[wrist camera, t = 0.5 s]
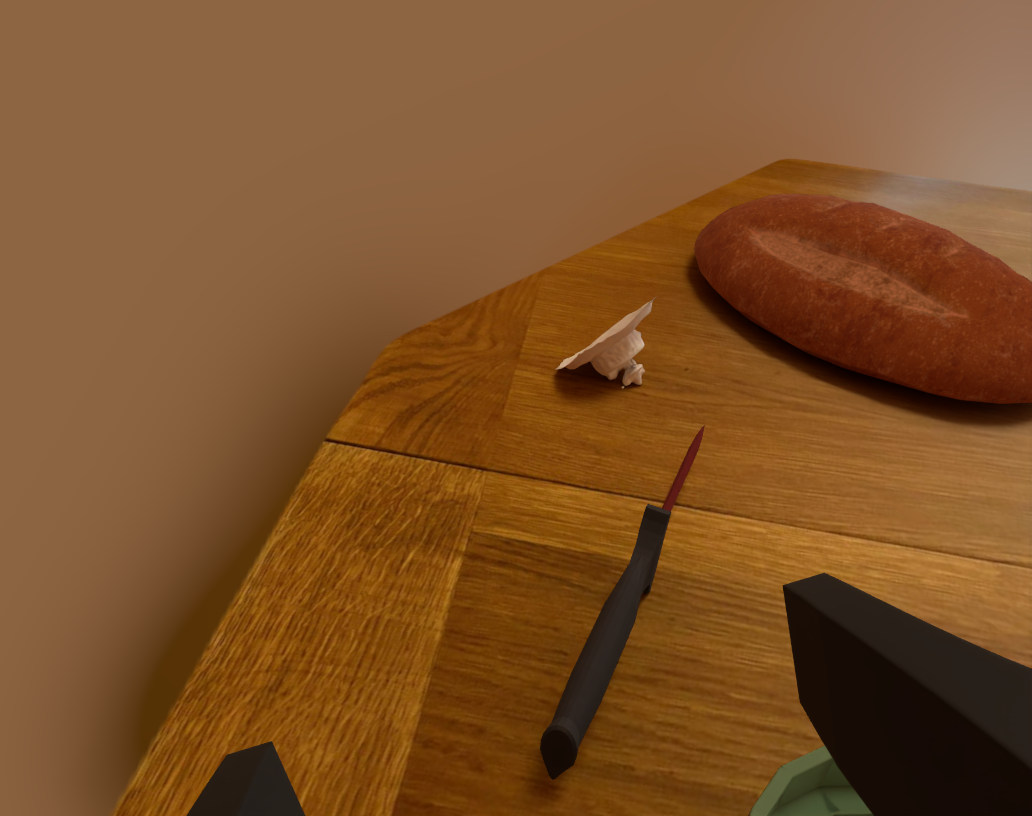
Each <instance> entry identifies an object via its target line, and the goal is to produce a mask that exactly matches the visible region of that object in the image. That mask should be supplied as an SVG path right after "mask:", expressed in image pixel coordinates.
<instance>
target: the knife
mask: <svg viewBox="0 0 1032 816" xmlns="http://www.w3.org/2000/svg"><path fill="white" fill-rule="evenodd" d="M703 431H704V426H703V427H702V429H701V430H700V431H699V433H698V434H697V435H696V437H695V439H694V440H693V442H692V444H691V446H690V447H689V449H688V452H687V454H686V456H685V458H684V460H683V463H682V465H681V467H680V469H679V471H678V474H677V476H676V478H675V480H674V482H673V485H672V487H671V489H670V491H669V494H668V496H667V498H666V500H665V502H664V505H663V507H662V508H659V507H656V506H653V505H650V504H648V505H647V506H646V509H645V512H644V515H643V519H642V522H641V526H640V529H639V533H638V538H637V542H636V546H635V548H634V551H633V554H632V557H631V560H630V563H629V565H628V567H627V568H626V570H625V572H624V573H623V575H622V576H621V578H620V580H619V581H618V583H617V585H616V586H615V588H614V589H613V591H612V593H611V594H610V596H609V598H608V599H607V600H606V602H605V604H604V606H603V608H602V610H601V612H600V614H599V616H598V619H597V621H596V623H595V625H594V627H593V629H592V631H591V633H590V635H589V637H588V639H587V642H586V644H585V646H584V648H583V650H582V652H581V654H580V656H579V658H578V660H577V663H576V665H575V667H574V669H573V671H572V673H571V675H570V678H569V680H568V683H567V685H566V688H565V690H564V693H563V695H562V698H561V700H560V703H559V705H558V708H557V710H556V713H555V715H554V718H553V720H552V723H551V724H550V726H549V727H548V728H547V729H546V731H545V732H544V733H543V736H542V739H541V745H540V750H541V754H542V757H543V760H544V763H545V766H546V768H547V771H548V774H549V776H550V778H551V779H552V780H554V779H556V778H557V777H558V776H559V775H560V774H561V773H563V772H564V771H566V770H567V769H568V768H570V767H571V766H573V765H574V763H575V760H576V757H577V752H578V747H579V745H580V743H581V741H582V739H583V737H584V735H585V733H586V731H587V729H588V727H589V725H590V723H591V721H592V719H593V717H594V715H595V713H596V711H597V709H598V707H599V705H600V703H601V700H602V698H603V696H604V693H605V691H606V689H607V686H608V684H609V682H610V679H611V677H612V675H613V672H614V670H615V668H616V665H617V663H618V660H619V658H620V656H621V653H622V651H623V649H624V646H625V644H626V642H627V639H628V637H629V635H630V632H631V630H632V628H633V625H634V622H635V619H636V615H637V610H638V606H639V602H640V598H641V595H642V593H643V592H644V593H647V594H649V592H650V589H651V585H652V582H653V578H654V575H655V571H656V568H657V564H658V560H659V556H660V552H661V548H662V544H663V540H664V537H665V533H666V529H667V526H668V522H669V518H670V515H671V510H672V508H673V505H674V503H675V501H676V499H677V496H678V494H679V492H680V490H681V488H682V485H683V483H684V481H685V479H686V476H687V474H688V472H689V470H690V468H691V465H692V463H693V461H694V459H695V456H696V454H697V452H698V449H699V446H700V443H701V440H702V436H703Z"/></svg>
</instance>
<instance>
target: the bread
mask: <svg viewBox="0 0 1032 816" xmlns="http://www.w3.org/2000/svg"><path fill="white" fill-rule="evenodd" d="M694 251H695V255H696V259H697V263H698V267H699V271H700V272H701V273H702V275H703V276H704V277H705V278H706V280H707V281H708V282H709V283H710V285H711V286H712V287H713V288H714V289H715V290H716V291H717V292H718V293H719V294H720V295H721V296H722V297H723V298H724V299H725V300H726V301H727V302H728V303H729V304H730V305H731V306H733V307H734V308H735V309H736V310H737V311H739V312H740V313H741V314H742V315H744V316H745V317H746V318H747V319H749V320H750V321H752V322H753V323H755V324H757V325H759V326H760V327H762V328H764V329H766V330H767V331H769V332H771V333H773V334H774V335H776V336H778V337H780V338H781V339H783V340H785V341H786V342H788V343H790V344H792V345H793V346H795V347H797V348H799V349H800V350H802V351H804V352H806V353H808V354H810V355H813V356H815V357H817V358H820V359H822V360H825V361H827V362H830V363H832V364H834V365H837V366H839V367H842V368H845V369H848V370H851V371H855V372H858V373H861V374H865V375H868V376H872V377H875V378H879V379H882V380H886V381H889V382H892V383H896V384H899V385H903V386H906V387H910V388H913V389H917V390H920V391H924V392H927V393H930V394H934V395H939V396H944V397H949V398H954V399H959V400H968V401H978V402H988V403H998V404H1008V403H1030V402H1032V282H1031V281H1030V280H1028V279H1027V278H1025V277H1024V276H1021V275H1019V274H1017V273H1016V272H1015V271H1014V270H1012V269H1011V268H1010V267H1009V266H1007V265H1006V264H1005V263H1004V262H1002V261H1001V260H1000V259H998V258H997V257H995V256H993V255H991V254H989V253H987V252H985V251H983V250H981V249H979V248H977V247H976V246H974V245H972V244H970V243H968V242H967V241H965V240H963V239H962V238H960V237H958V236H957V235H955V234H953V233H952V232H950V231H948V230H946V229H943V228H940V227H938V226H935V225H932V224H930V223H927V222H924V221H922V220H919V219H916V218H914V217H911V216H908V215H905V214H902V213H900V212H897V211H894V210H891V209H888V208H885V207H882V206H880V205H877V204H874V203H864V202H853V201H848V200H845V199H841V198H837V197H834V196H823V195H802V194H780V195H771V196H766V197H763V198H760V199H757V200H754V201H751V202H748V203H745V204H742V205H739V206H736V207H733V208H730V209H728V210H727V211H725V212H724V213H722V214H720V215H719V216H717V217H716V218H715V219H714V220H712V221H711V222H710V223H709V224H708V225H707V226H706V227H705V228H704V229H703V230H702V231H701V233H700V234H699V236H698V238H697V240H696V243H695V248H694Z"/></svg>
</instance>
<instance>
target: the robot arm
mask: <svg viewBox="0 0 1032 816" xmlns="http://www.w3.org/2000/svg"><path fill="white" fill-rule="evenodd" d="M783 591H784V598H785V605H786V612H787V618H788V625H789V632H790V639H791V645H792V652H793V659H794V666H795V672H796V679H797V686H798V693H799V700H800V703H801V705H802V707H803V708H804V710H805V712H806V714H807V715H808V717H809V719H810V721H811V722H812V724H813V726H814V728H815V729H816V731H817V733H818V735H819V736H820V738H821V740H822V742H823V743H824V745H825V747H826V748H827V750H828V752H829V753H830V755H831V757H832V758H833V760H834V762H835V763H836V765H837V767H838V768H839V770H840V771H841V772H842V774H843V775H844V776H845V778H846V779H847V781H848V782H849V783H850V785H851V786H852V787H853V789H854V790H855V791H856V793H857V794H858V795H859V797H860V798H861V799H862V801H863V802H864V803H865V805H866V806H867V807H868V809H869V810H870V811H871V813H872V814H873V815H874V816H1032V669H1031V668H1029V667H1026V666H1024V665H1021V664H1019V663H1016V662H1014V661H1012V660H1009V659H1007V658H1004V657H1002V656H1000V655H997V654H995V653H993V652H990V651H988V650H986V649H983V648H981V647H979V646H977V645H974V644H972V643H970V642H968V641H965V640H963V639H961V638H959V637H957V636H954V635H952V634H950V633H948V632H946V631H944V630H942V629H939V628H937V627H935V626H933V625H931V624H929V623H927V622H925V621H923V620H920V619H918V618H916V617H914V616H912V615H910V614H908V613H906V612H904V611H902V610H900V609H898V608H896V607H894V606H892V605H890V604H888V603H886V602H884V601H882V600H880V599H877V598H875V597H873V596H871V595H869V594H867V593H865V592H863V591H861V590H859V589H857V588H855V587H853V586H851V585H849V584H847V583H845V582H843V581H841V580H839V579H837V578H835V577H832V576H830V575H828V574H826V573H822V574H819V575H815V576H812V577H809V578H806V579H802V580H799V581H796V582H792V583H789V584H786V585H783ZM187 816H305V814H304V812H303V810H302V807H301V805H300V803H299V801H298V799H297V796H296V794H295V792H294V790H293V787H292V785H291V783H290V781H289V779H288V776H287V774H286V772H285V770H284V767H283V765H282V763H281V761H280V759H279V756H278V754H277V752H276V750H275V747H274V745H273V743H272V741H271V742H267V743H264V744H261V745H258V746H254V747H251V748H248V749H244V750H241V751H238V752H235V753H231V754H228V755H226V757H225V758H224V760H223V761H222V763H221V764H220V765H219V767H218V768H217V770H216V771H215V773H214V774H213V776H212V777H211V779H210V780H209V782H208V783H207V785H206V787H205V788H204V790H203V791H202V793H201V794H200V796H199V797H198V799H197V800H196V802H195V803H194V805H193V807H192V808H191V810H190V811H189V813H188V814H187Z"/></svg>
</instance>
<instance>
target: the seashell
mask: <svg viewBox="0 0 1032 816" xmlns="http://www.w3.org/2000/svg"><path fill="white" fill-rule="evenodd" d="M653 300H654V299H653ZM653 300H652V301H650V302H649V303H646V304H645V305H644V306H642V307H641V308H640V309H638V310H637V311H634V312H633V313H630V314H628V315H627V316H625V317H624V318H623V319H622V320H621V321H619V322H618V323H617V324H615V325H614V326H613V327H611V328H610V329H609V330H608V331H606V332H605V333H603V334H602V335H601V336H600V337H599V338H598V339H597V340H595V341H594V342H593V343H592V344H591V345H589V346H588V347H586V348H585V349H583V350H582V351H580V352H578V353H577V354H576V355H574V356H572V357H570V358H567V359H565V360H564V361H563V363H561V365H560V366H559V367H557V368H556V369H561V368H563V367H566V368H567V369H576V368H577V367H579V366H581V365H582V364H585V363H587V362H589V361H590V362H591V363H592V366H593V367H594V368H595V370H596V371H598V372H599V373H600V374H601V375H604V376H606V377H607V378H608V379H609V380H612V379H616V377H617V375H618V373H619V371H621V370H622V368H624V369H625V373H624V376H623V379H622V382H623V384H624V385H625V386H628V385H629V384H630V383H631V382H633V383H635V384H637V385H640V384H641V383H642V380H641V375H642V374H644V372H645V370H644V369H643V365H642V364H636V361H635V360H633V359H632V357H634V356H635V355H636V354H637V353H638V352H639V351H641V350H642V349H643V347H644V343H643V340H642V338H641V333H640V332H638V331H636V330H635V328H636V326H637V325H638V324H639V323H640V322H641V320H642V319H643V318H644V317H645V316H646V315H648V314H649V313H650V311H651V306H652V302H653ZM621 388H622V389H624V386H622V387H621Z"/></svg>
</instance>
